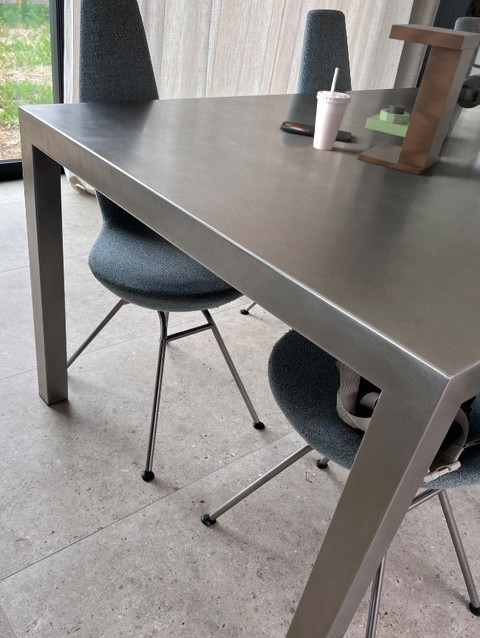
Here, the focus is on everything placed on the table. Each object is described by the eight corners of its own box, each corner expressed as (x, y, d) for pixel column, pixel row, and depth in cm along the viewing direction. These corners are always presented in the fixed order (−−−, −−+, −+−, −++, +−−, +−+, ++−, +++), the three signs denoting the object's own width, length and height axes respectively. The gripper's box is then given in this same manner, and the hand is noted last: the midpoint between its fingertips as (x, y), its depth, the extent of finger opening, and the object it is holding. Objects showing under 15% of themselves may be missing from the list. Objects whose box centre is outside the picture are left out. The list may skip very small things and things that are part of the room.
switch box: (416, 132, 133) (421, 114, 131) (406, 137, 128) (412, 118, 125) (375, 123, 137) (380, 105, 135) (364, 128, 132) (369, 109, 129)
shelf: (438, 161, 113) (482, 34, 100) (419, 175, 103) (464, 35, 90) (380, 147, 117) (415, 24, 104) (357, 159, 107) (392, 24, 95)
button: (405, 114, 131) (407, 106, 130) (400, 116, 128) (402, 108, 127) (390, 111, 132) (392, 103, 131) (385, 113, 130) (387, 104, 129)
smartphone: (351, 139, 117) (279, 127, 119) (350, 142, 118) (279, 130, 119) (351, 132, 123) (283, 120, 125) (350, 135, 123) (283, 123, 125)
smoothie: (315, 141, 116) (331, 64, 107) (344, 149, 113) (363, 70, 105) (301, 146, 111) (317, 66, 103) (330, 154, 108) (349, 72, 100)
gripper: (517, 117, 143) (504, 128, 128) (420, 97, 153) (397, 106, 138) (531, 84, 139) (518, 92, 123) (430, 66, 148) (407, 71, 133)
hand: (454, 99), depth 131 cm, fingers open, 13 cm apart
